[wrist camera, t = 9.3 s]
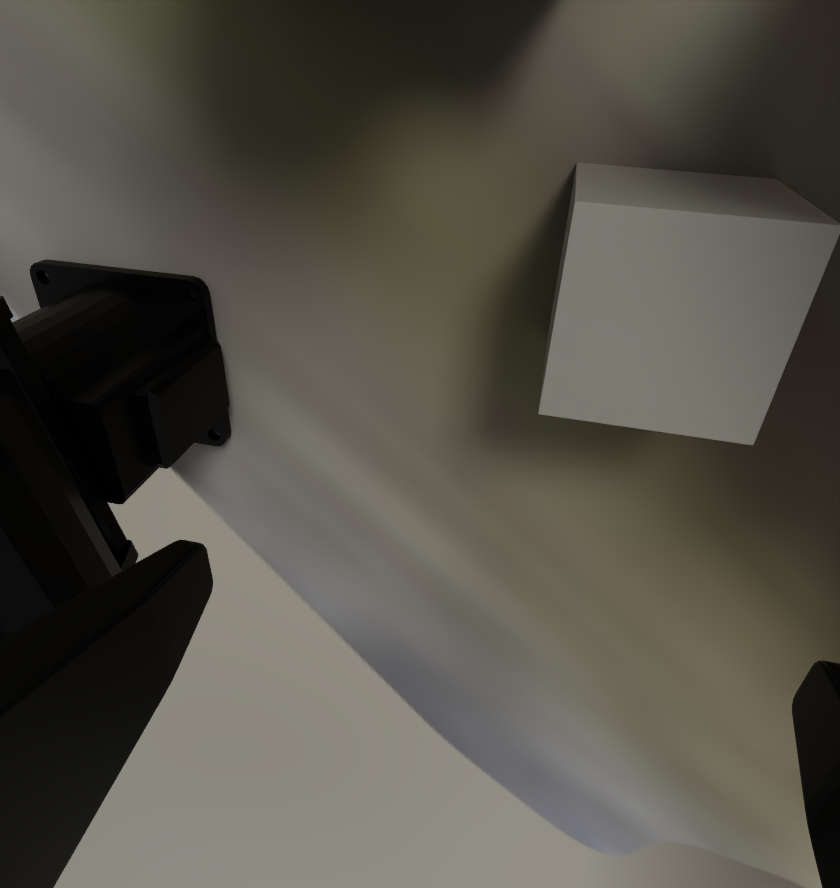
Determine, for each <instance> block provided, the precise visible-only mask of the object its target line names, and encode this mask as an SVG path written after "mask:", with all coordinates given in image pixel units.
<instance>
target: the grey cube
mask: <svg viewBox="0 0 840 888" xmlns="http://www.w3.org/2000/svg"><path fill="white" fill-rule="evenodd" d="M839 234H840V223H839V222H837V221H836V220H834V219H833V218H831V217H830V216H829V215H827V214H826V213H824V212H823V211H821V210H820V209H819V208H817V207H816V206H814V205H813V204H811V203H810V202H809V201H807V200H806V199H804V198H803V197H801V196H800V195H799V194H797V193H796V192H794V191H793V190H791V189H790V188H789V187H787V186H786V185H784V184H783V183H781V182H780V181H779V180H777V179H772V178H760V177H748V176H736V175H723V174H711V173H699V172H687V171H674V170H662V169H650V168H638V167H625V166H613V165H601V164H589V163H577V164H576V170H575V176H574V182H573V188H572V194H571V200H570V206H569V212H568V218H567V224H566V230H565V235H564V241H563V247H562V253H561V259H560V265H559V271H558V277H557V283H556V289H555V295H554V301H553V307H552V312H551V318H550V324H549V330H548V336H547V344H546V353H545V361H544V370H543V378H542V387H541V395H540V404H539V412H538V414H541V415H548V416H555V417H562V418H569V419H576V420H582V421H589V422H596V423H603V424H610V425H617V426H624V427H630V428H637V429H644V430H651V431H658V432H665V433H672V434H678V435H685V436H692V437H699V438H706V439H713V440H720V441H727V442H733V443H740V444H747V445H754V442H755V440H756V437H757V435H758V433H759V430H760V428H761V425H762V423H763V420H764V418H765V415H766V413H767V411H768V408H769V406H770V403H771V401H772V398H773V396H774V393H775V391H776V389H777V386H778V384H779V381H780V379H781V376H782V374H783V371H784V369H785V367H786V364H787V362H788V359H789V357H790V354H791V352H792V349H793V347H794V344H795V342H796V340H797V337H798V335H799V332H800V330H801V327H802V325H803V322H804V320H805V318H806V315H807V313H808V310H809V308H810V305H811V303H812V300H813V298H814V296H815V293H816V291H817V288H818V286H819V283H820V281H821V278H822V276H823V274H824V271H825V269H826V266H827V264H828V261H829V259H830V256H831V254H832V252H833V249H834V247H835V244H836V242H837V239H838V237H839Z"/></svg>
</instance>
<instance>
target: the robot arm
mask: <svg viewBox="0 0 840 888" xmlns="http://www.w3.org/2000/svg"><path fill="white" fill-rule="evenodd" d="M45 272H46V273H47V274H48V276H49V277H50V279H49V278H48V277H47V276H46V274H45ZM30 276H31V279H32V282H33V285H34V289H35V292H36V295H37V298H38V301H39V305H40V308H41V309H39V310H37V311H35V312H33V313H31V314H29V315H27V316H25V317H23V318H21V319H19V320H17V321H15V322H13V323H12V322H11V320H10V319H11V318H12V317H13V314H12V313H11V311H10V309H9V307H8V305H7V303H6V301H5V299H4V297H3V296H0V888H53V887H54V886H55V884H56V882H57V880H58V879H59V877H60V875H61V874H62V872H63V870H64V868H65V867H66V865H67V863H68V861H69V860H70V858H71V856H72V854H73V853H74V851H75V849H76V847H77V846H78V844H79V842H80V841H81V839H82V837H83V835H84V834H85V832H86V830H87V828H88V827H89V825H90V823H91V821H92V820H93V818H94V816H95V814H96V813H97V811H98V809H99V808H100V806H101V804H102V802H103V801H104V799H105V797H106V795H107V794H108V792H109V790H110V788H111V787H112V785H113V783H114V781H115V780H116V778H117V776H118V775H119V773H120V771H121V769H122V767H123V766H124V764H125V762H126V761H127V759H128V757H129V755H130V754H131V752H132V750H133V748H134V747H135V745H136V743H137V741H138V740H139V738H140V736H141V735H142V733H143V731H144V729H145V728H146V726H147V724H148V722H149V721H150V719H151V717H152V715H153V713H154V712H155V710H156V708H157V707H158V705H159V703H160V702H161V700H162V698H163V696H164V694H165V693H166V691H167V689H168V687H169V685H170V684H171V682H172V680H173V678H174V675H175V673H176V671H177V669H178V667H179V665H180V663H181V660H182V658H183V656H184V654H185V651H186V649H187V647H188V645H189V642H190V640H191V638H192V635H193V633H194V631H195V629H196V626H197V624H198V622H199V620H200V617H201V615H202V613H203V611H204V608H205V606H206V604H207V602H208V600H209V597H210V595H211V592H212V587H213V578H212V573H211V568H210V563H209V558H208V554H207V549H206V547H205V546H204V545H203V544H201V543H197V542H192V541H186V540H178V541H175V542H173V543H171V544H169V545H168V546H166V547H164V548H162V549H161V550H159V551H157V552H155V553H153V554H152V555H150V556H148V557H146V558H145V559H143V560H141V561H139V562H137V563H136V560H137V558H138V553H137V551H136V549H135V547H134V545H133V543H132V541H131V540H127V539H126V537H125V535H124V533H123V531H122V530H121V528H120V526H119V524H118V522H117V520H116V518H115V516H114V514H113V512H112V511H111V509H110V507H109V505H108V503H107V502H110V503H115V504H123V503H124V502H125V501H126V500H127V499H128V498H129V497H130V496H131V495H132V494H133V493H134V492H135V491H136V490H137V489H138V488H139V487H140V486H141V485H142V484H143V483H144V482H145V481H146V480H147V479H148V478H149V477H150V476H151V475H152V474H153V473H154V472H155V471H156V470H157V469H158V468H159V467H160V468H166V469H167V468H169V467H170V466H171V465H173V464H174V463H175V462H176V461H177V460H178V459H179V458H180V457H181V455H182V454H183V453H184V452H185V451H186V450H187V449H188V448H189V447H190V446H191V445H192V444H193V443H200V444H206V445H212V446H221V445H223V444H224V443H225V442H226V441H227V440H228V439H229V437H230V436H231V429H230V422H229V416H228V409H227V408H228V407H229V397H228V390H227V384H226V377H225V371H224V364H223V357H222V351H221V346H220V344H219V342H218V341H217V338H216V331H215V325H214V318H213V312H212V305H211V299H210V292H209V289H208V287H207V285H206V284H205V283H204V281H202V280H201V279H200V278H197V277H194V276H186V275H178V274H169V273H160V272H151V271H143V270H134V269H125V268H116V267H107V266H99V265H90V264H81V263H72V262H64V261H55V260H42V261H39V262H37V263H34V264H33V265H32V266H31V268H30ZM189 288H192V289H193V290H194V291H195V292H196V295H197V298H195V297H193V296H192V295H191V294H190V292H189ZM213 429H214V430H216V431H217V432H218V433H219V434H220V435H218V434H216V433H215V432H214V431H213ZM792 716H793V723H794V731H795V738H796V746H797V753H798V761H799V768H800V776H801V783H802V791H803V798H804V806H805V812H806V818H807V824H808V829H809V834H810V838H811V843H812V847H813V851H814V855H815V859H816V864H817V868H818V872H819V876H820V880H821V884H822V888H840V664H839V663H834V662H828V661H818V662H816V663H814V665H813V666H812V667H811V669H810V671H809V672H808V674H807V676H806V677H805V679H804V680H803V682H802V684H801V685H800V687H799V689H798V690H797V692H796V694H795V696H794V699H793V703H792Z"/></svg>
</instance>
